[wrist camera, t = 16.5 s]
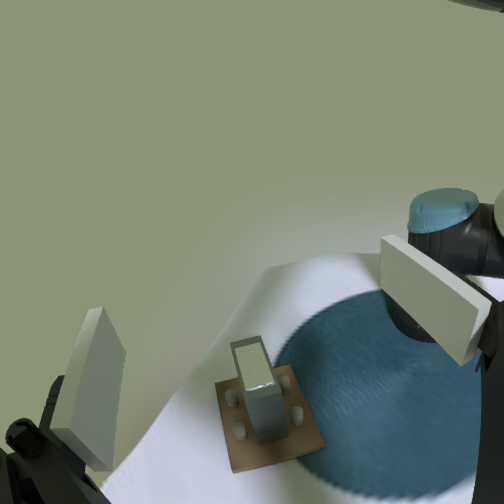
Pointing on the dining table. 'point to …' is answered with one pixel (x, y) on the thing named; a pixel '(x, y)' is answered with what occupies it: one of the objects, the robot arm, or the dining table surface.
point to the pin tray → (242, 433)
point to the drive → (260, 390)
